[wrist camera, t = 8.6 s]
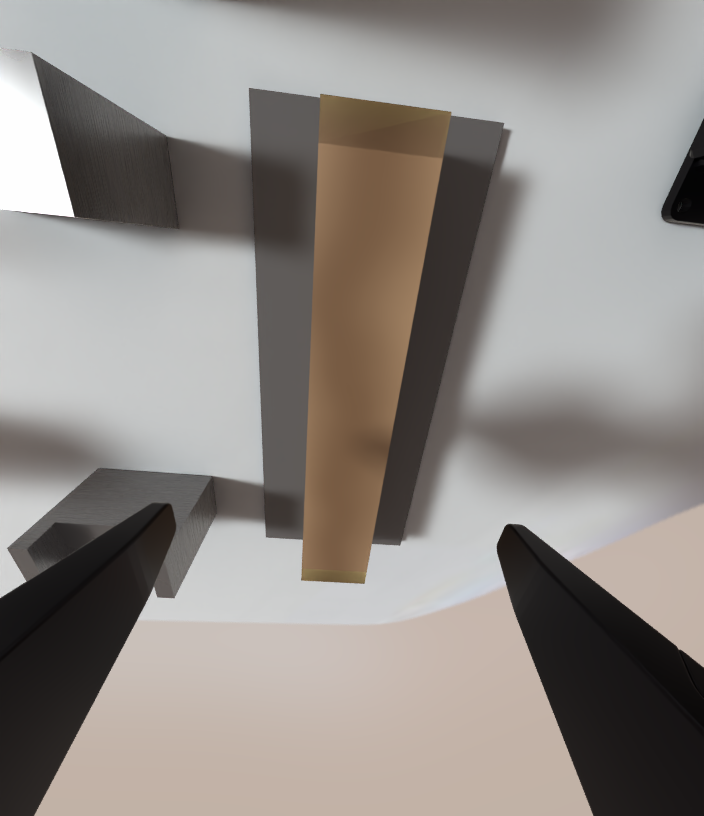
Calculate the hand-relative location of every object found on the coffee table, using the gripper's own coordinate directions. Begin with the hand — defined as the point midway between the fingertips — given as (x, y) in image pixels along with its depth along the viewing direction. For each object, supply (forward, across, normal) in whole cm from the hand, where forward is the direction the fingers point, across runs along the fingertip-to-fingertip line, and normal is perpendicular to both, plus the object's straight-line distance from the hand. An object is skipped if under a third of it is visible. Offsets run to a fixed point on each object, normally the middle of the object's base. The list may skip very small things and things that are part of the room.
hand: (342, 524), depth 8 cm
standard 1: (+9, +11, -8) cm, 16 cm away
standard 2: (+9, +11, +8) cm, 16 cm away
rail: (+8, 0, 0) cm, 8 cm away
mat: (+9, 0, 0) cm, 9 cm away
